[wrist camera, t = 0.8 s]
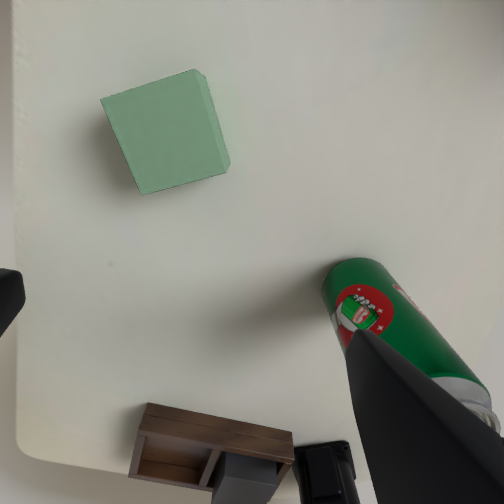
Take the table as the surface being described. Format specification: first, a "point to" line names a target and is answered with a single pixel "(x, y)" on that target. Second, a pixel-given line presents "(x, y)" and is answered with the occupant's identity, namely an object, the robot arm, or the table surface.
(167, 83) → the green block
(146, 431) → the wooden divided tray
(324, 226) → the table surface
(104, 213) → the table surface
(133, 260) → the table surface
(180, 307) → the table surface
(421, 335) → the soda can
